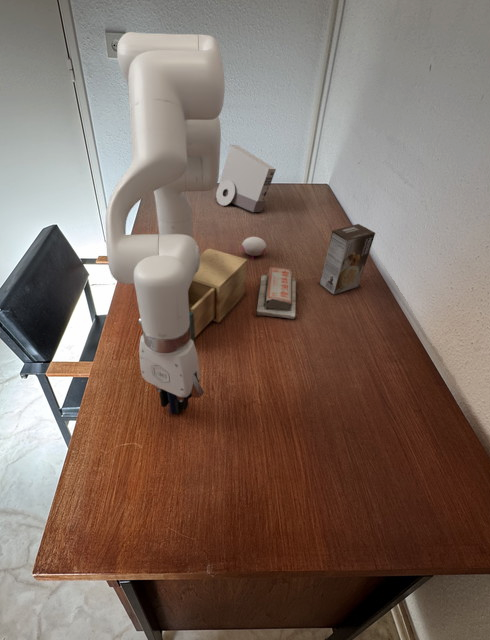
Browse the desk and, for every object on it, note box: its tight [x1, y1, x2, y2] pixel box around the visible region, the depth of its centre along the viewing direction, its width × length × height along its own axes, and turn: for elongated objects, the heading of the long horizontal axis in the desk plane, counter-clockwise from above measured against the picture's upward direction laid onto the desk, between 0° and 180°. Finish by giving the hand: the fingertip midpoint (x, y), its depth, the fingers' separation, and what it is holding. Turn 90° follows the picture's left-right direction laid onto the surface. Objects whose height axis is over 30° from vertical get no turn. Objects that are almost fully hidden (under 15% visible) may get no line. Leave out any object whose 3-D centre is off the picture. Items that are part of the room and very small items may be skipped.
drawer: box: [188, 281, 217, 343], centre depth 87 cm, size 18×10×9 cm, turn 150°
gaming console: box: [215, 144, 277, 213], centre depth 138 cm, size 23×8×20 cm, turn 43°
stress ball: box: [241, 236, 267, 260], centre depth 117 cm, size 8×8×7 cm
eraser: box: [167, 391, 178, 415], centre depth 71 cm, size 2×2×7 cm
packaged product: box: [256, 266, 297, 320], centre depth 99 cm, size 18×5×10 cm
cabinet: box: [193, 248, 248, 324], centre depth 96 cm, size 15×12×11 cm
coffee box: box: [319, 223, 376, 295], centre depth 100 cm, size 9×6×16 cm
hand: (174, 404), depth 73 cm, fingers closed on eraser, 2 cm apart
